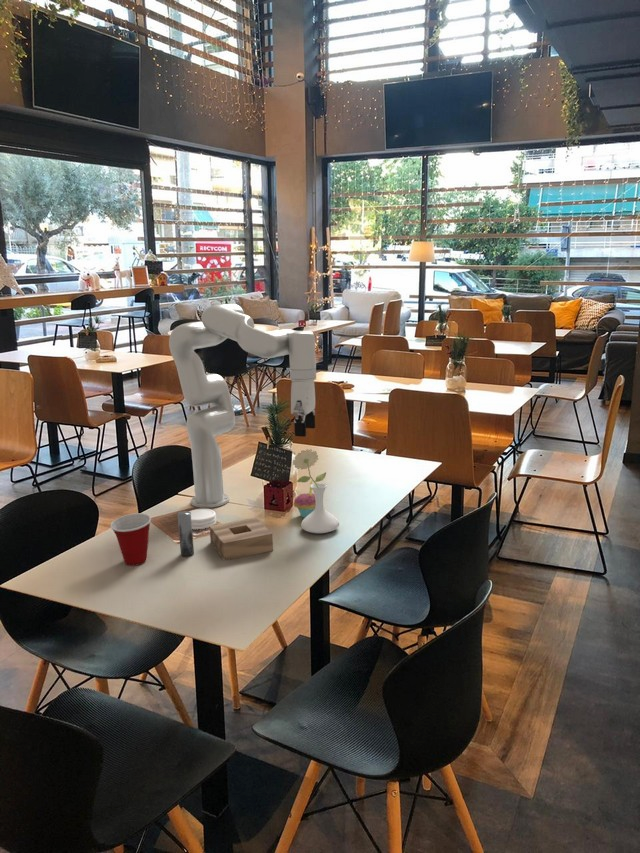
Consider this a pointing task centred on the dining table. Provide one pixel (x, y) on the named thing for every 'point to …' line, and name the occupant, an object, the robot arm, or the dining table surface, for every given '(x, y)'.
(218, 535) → the socket block
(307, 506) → the cupcake
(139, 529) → the plastic cup
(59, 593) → the dining table surface
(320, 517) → the flower in vase
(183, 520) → the steel pin
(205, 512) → the white round disc stack
